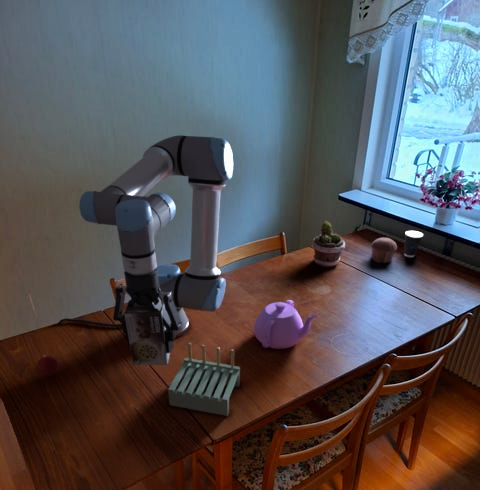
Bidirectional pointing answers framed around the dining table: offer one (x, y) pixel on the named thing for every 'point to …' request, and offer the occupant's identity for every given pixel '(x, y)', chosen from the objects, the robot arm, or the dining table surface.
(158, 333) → the coffee box
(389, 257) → the muffin
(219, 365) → the rack
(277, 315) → the teapot
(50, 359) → the onion
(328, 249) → the flowerpot
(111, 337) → the dining table surface
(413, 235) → the dixie cup
